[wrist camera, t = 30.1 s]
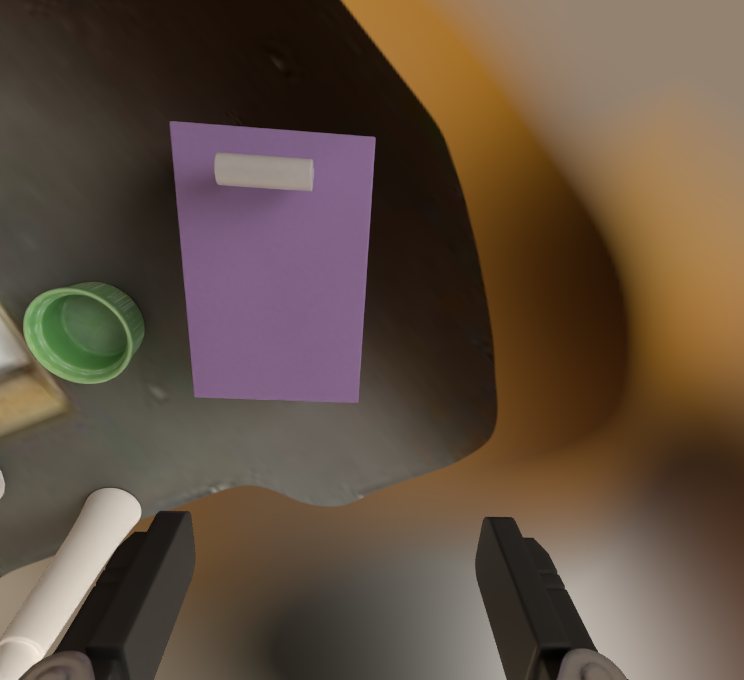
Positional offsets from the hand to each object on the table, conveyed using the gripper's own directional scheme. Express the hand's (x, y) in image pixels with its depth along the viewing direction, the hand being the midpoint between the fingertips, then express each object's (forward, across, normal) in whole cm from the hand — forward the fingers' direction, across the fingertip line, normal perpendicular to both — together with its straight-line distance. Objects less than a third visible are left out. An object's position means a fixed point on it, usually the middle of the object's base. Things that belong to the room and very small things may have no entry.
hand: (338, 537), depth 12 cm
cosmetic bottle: (+32, +25, +29) cm, 50 cm away
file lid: (+23, +5, -1) cm, 24 cm away
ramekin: (+32, +23, +6) cm, 40 cm away
